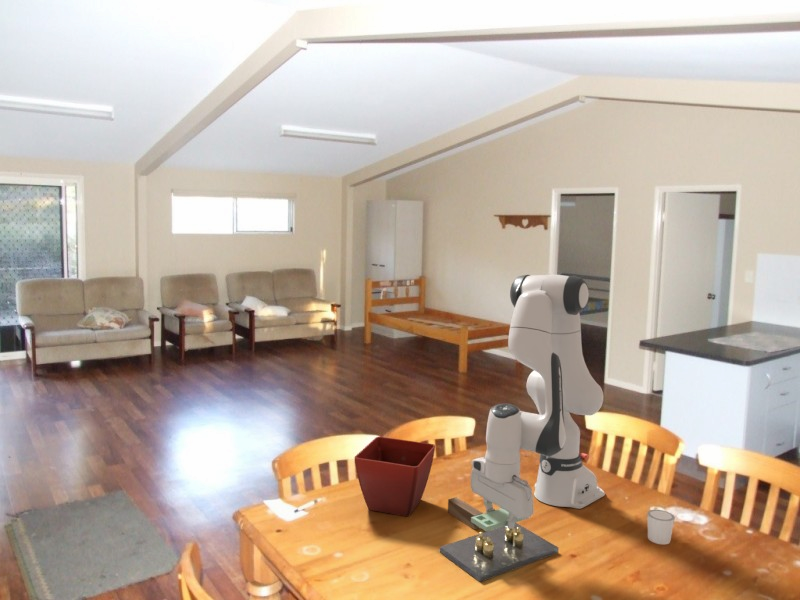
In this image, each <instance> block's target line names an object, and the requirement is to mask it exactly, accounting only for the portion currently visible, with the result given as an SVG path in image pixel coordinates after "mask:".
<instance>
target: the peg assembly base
mask: <svg viewBox="0 0 800 600" xmlns="http://www.w3.org/2000/svg"><path fill="white" fill-rule="evenodd" d="M439 553H440V554H441V555H442V556H444V557H445V558H447V559H448V560H449V561H451V562H452V563H454V564H455V565H456V566H458V567H459V568H460V569H461V570H462V571H464V572H466V573H468V575H470V576H471V577H472V578H473V579H475V580H477V581H478V582H480V583H482V582H485V581H487V580H489V579H491V578H494V577H497V576H500V575H502V574H505V573H507V572H510V571H513V570H515V569H519V568H521V567H524V566H527V565H530V564H532V563H534V562H537V561H540V560H542V559H543V560H544V559H545V558H548V557H550V556H551V557H552V556H554V555H556V554H559V547H558V546H556V545H555V544H553V543H551V542H550V541H548V540H546V539H545V538H543V537H541V536H540V535H537V534H536V533H535V532H533V531H532V530H529V529H528V528H526V527H524V526H522V525H521V524H519V523H518V522H516V523H515V525H514V528H511V529H510V528H508V527H506V526H503V527H500V528H496V529H493V530H490V531H487V532H486V531H484V532H483V531H479V532H478V534H475V535H472V536H469V537H466V538H462V539H460V540H456V541H453V542H451V543H447V544H444V545H441V546H439Z"/></svg>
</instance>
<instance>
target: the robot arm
mask: <svg viewBox="0 0 800 600" xmlns="http://www.w3.org/2000/svg"><path fill="white" fill-rule="evenodd" d="M589 296H590V295H589V287H588V284H587V282H586V280H584V279H583V278H582V277H580V276H576V275H564V274H563V275H562V274H555V273H554V274H551V273H549V274H533V275H530V274H524V275H519V276H516V278H515V279H514V280H513V282H512V283H511V286H510V291H509V297H510V301H511V304H512V305H513V308H514V309H513V312H512V316H511V320H510V325H509V331H508V337H507V338H508V339H507V340H508V341H507V345H508V350H509V352H510V354H511V355H512V356H513V357H514V359H515V360H517V362H518V363H520V364H522V365H524V366H525V367H527V368H529V369H531V370H532V371H531V372H530V374H529V375H528V377H527V379H526V380H527V381H526V385H525V386H526V391H527V394H528V396H530V398H531V399H532V401H533V402H534V405H535V406H536V410H537V412H538V414H537V413H534V412H533V413H532V412H527V411H523V410H520V408H519V407H518V406H516V405H514V404H511V403H499V404H495V405H493V406H492V407H491V408H490V410H489V413H488V417H487V423H486V433H485V443H486V451H485V456H481V457H477V458H474V459H472V460H471V467H472V469H471V470H470V471H471V473H470V489H471V491H472V492H473V493H474V494H476V495H478V496H480V497H481V498H482V500H483V504H484V507H485V513H488V512H491V511H495V510H496V509H495V508H494V506H493V505H495V506H497V507H499V509H501V508H502V509H504V510H506V511H507V512H509V516H510V518H509V520H506V522H505V523H506V524H505V526H506V527H508V528H510V529H511V528H514V525H515V520H516V519H517V517H518V518H520V519H525V520H527V519H526V518H528V519H529V518H531V517H533V515H534V497H535V498H536V500H538V501H539V502H541V503H544V504H547V505H550V506H555V507H562V508H563V507H566V508H574V509H577V510H578V509H581V510H582V509H583V508H585V507H587V506H589V505H590V504H592V503H594V502H596V501H598V500H599V499H601V498H603V497H605V491H604V490H603V489H602V488H601V487H600V486H599V485H598V480H597V479H598V478H597V476H596V475H595V473H594V472H593V471H592V470H590V469H589V468H588V467H587V466H585V465H584V464H583V461H585V462H587V461H588V460H589V458H590V456H589V454H588V453H584V452H582V453H580V443H581V442H580V437H581V430H580V427H579V426H578V424H577V423H576V422H575V421H574V419H573V417H572V415H571V414H574V415H580V416H593V415H595V414H597V413H598V412H599V410H600V409H601V408H602V406H603V403H604V392H603V390H602V387H601V385H599V383H597V382H596V380H595V379H594V377H593V376H592V375H591V373H590V371H589V369H588V367H587V364H586V362H585V358H584V354H583V346H582V326H581V325H582V324H581V315H580V313H582V312H583V310H585V309H586V307H587V305H588V302H589ZM570 413H571V414H570ZM520 450H524V451H529V452H533V453H537V454H539V466H538V471H537V477H536V482H535V483H534V489H535V490H534V491H532V490H533V489H532V487H531V486H530V484H529V482H528V481H527V480H525V479H522V478H521V476H520V475H521V459H522V458H521V454H520ZM582 460H583V461H582Z"/></svg>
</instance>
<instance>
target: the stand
mask: <svg viewBox="0 0 800 600" xmlns="http://www.w3.org/2000/svg"><path fill="white" fill-rule="evenodd" d="M447 513H448V514H450V515H451V516H452V517H454V518H455V519H457V520H459V521H461V522H462V524H463V523H464V524H465V525H467V526H468V527H470V528H471V529H473V530H477V529H481V528H480V527H478V526H477V525H475V524H474V523H472V522H471V517H474V516H477V515H481V514H484V512H482V511H480V510H479V509H477V508H476V507H474V506H472V505H470V504H469V503H467V502H466V501H464V500H462V499H461V498H460V497H458V496H455V497H451V498H448V499H447Z"/></svg>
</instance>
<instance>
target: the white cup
mask: <svg viewBox="0 0 800 600" xmlns="http://www.w3.org/2000/svg"><path fill="white" fill-rule="evenodd" d="M646 518H647V538H648V540H649V541H650V542H652V543H654V544H657V545H668V544H670V543H671V540H672V533H673V529H674V523H675V515H674V514H673V513H672V512H669V511H666V510H663V509H651V510H648V511H647V517H646Z"/></svg>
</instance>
